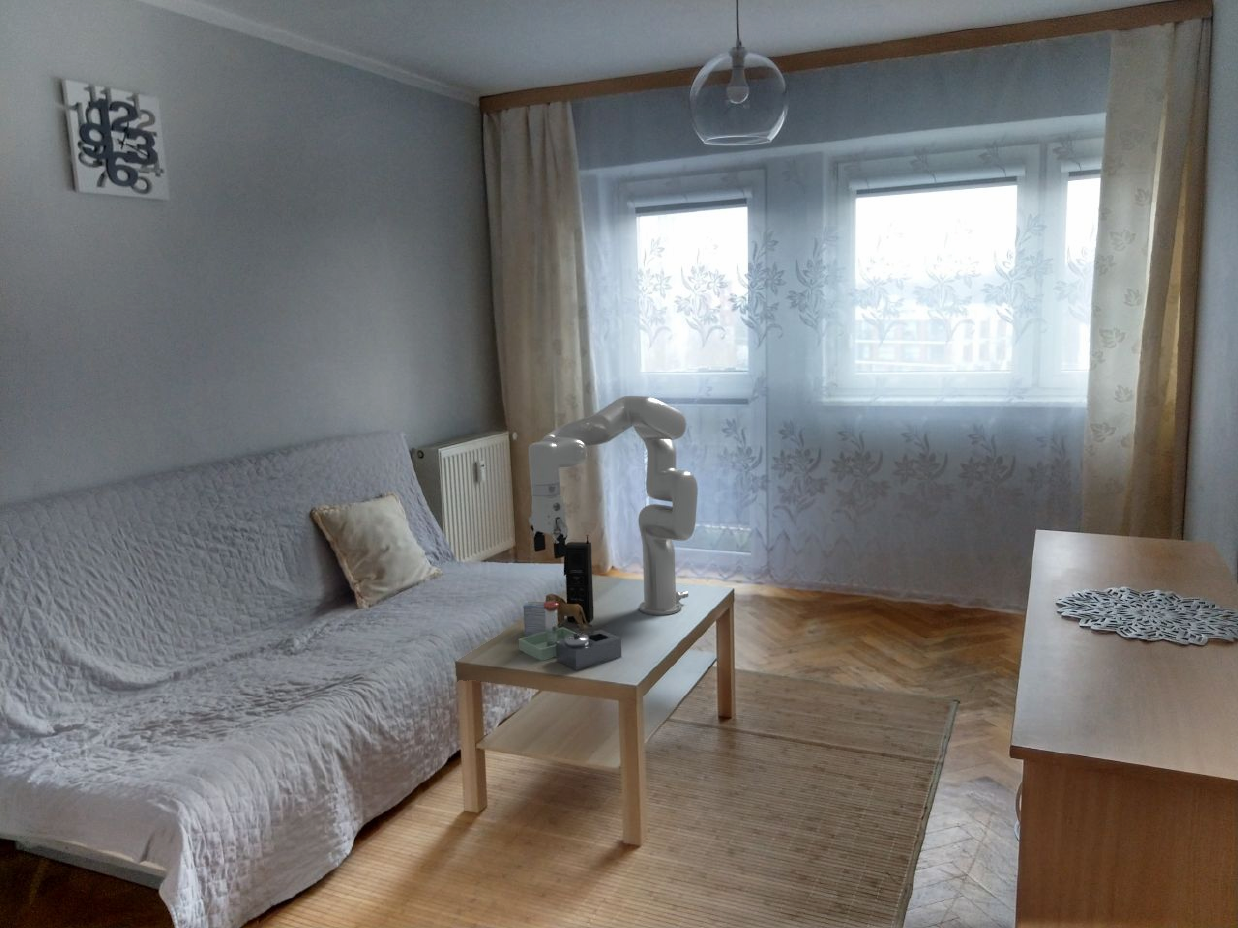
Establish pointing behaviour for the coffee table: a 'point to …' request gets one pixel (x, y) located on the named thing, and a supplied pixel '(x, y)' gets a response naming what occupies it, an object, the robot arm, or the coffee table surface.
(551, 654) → the tray
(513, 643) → the coffee table surface
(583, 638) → the block
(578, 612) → the lion figurine
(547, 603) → the pin
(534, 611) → the medicine box
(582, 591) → the portable radio
